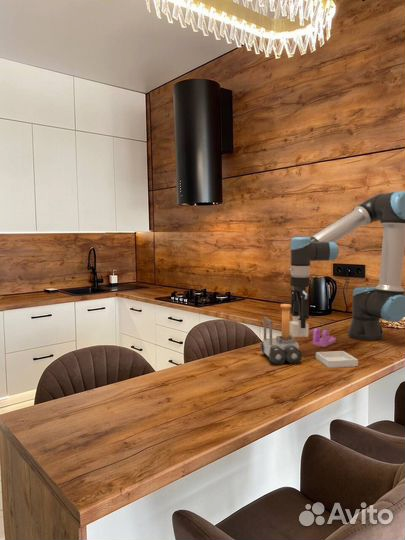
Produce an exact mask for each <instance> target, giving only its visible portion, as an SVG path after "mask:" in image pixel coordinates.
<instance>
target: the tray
mask: <svg viewBox="0 0 405 540" xmlns="http://www.w3.org/2000/svg"><path fill="white" fill-rule="evenodd" d="M315 360H317V361H318V362H319V363H320V364H322V365H324V367H326V368H327V369H337V368H338V369H339V368H352V367H353V368H354V367H355V366H357V367H358V366H359V359H358V358H356V357H354V356H353V355H351V354H350V353H348V352H346V351H344V350H337V351H336V350H335V351H317V352H315ZM355 368H356V367H355Z"/></svg>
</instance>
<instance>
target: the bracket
mask: <svg viewBox="0 0 405 540" xmlns="http://www.w3.org/2000/svg"><path fill="white" fill-rule="evenodd" d="M336 339H337V338H336V337H334V336H330V331H329V330H328V329H323V330H322V333H321V330H320V328H316V327H315V328H313V331H312V345H313V344H314V345H313V346H319V347H324V348H325V347H328V346H330V345H331V344H333V343H336V342H337V340H336Z"/></svg>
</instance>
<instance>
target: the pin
mask: <svg viewBox="0 0 405 540" xmlns="http://www.w3.org/2000/svg"><path fill="white" fill-rule="evenodd" d="M279 308H281V336H282V339H290V336H291V335H290V320H291V319H290V318H291V316H290V315H291V303H280V307H279Z"/></svg>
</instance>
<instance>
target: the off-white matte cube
mask: <svg viewBox="0 0 405 540" xmlns="http://www.w3.org/2000/svg"><path fill="white" fill-rule="evenodd" d="M309 331H310V325H309V323H307V322H306V336H298V332H299V321H293V320H291V321H290V336H292V337H293V338H308V337H309Z"/></svg>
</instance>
